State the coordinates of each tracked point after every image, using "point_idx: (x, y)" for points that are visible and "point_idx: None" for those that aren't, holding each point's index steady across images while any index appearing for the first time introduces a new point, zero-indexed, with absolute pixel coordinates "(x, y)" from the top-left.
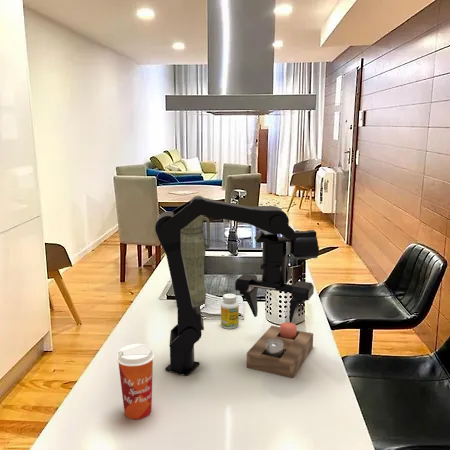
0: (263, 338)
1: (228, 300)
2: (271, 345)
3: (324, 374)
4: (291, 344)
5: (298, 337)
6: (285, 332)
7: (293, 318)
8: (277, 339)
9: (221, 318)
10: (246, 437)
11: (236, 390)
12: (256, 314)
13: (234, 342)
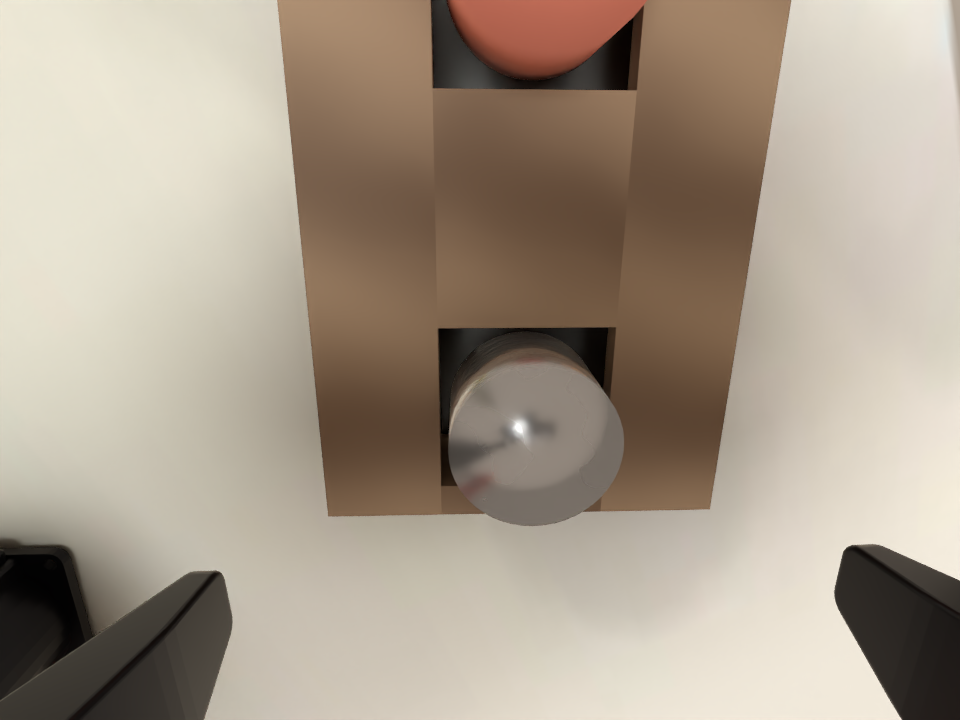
0: (331, 203)
1: None
2: (529, 513)
3: (854, 319)
4: (633, 212)
5: (669, 3)
6: (542, 62)
7: (937, 578)
8: (544, 379)
9: None
10: None
11: (414, 665)
12: (213, 630)
13: (46, 127)
